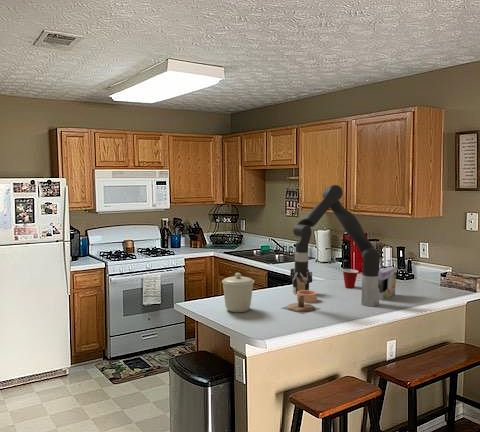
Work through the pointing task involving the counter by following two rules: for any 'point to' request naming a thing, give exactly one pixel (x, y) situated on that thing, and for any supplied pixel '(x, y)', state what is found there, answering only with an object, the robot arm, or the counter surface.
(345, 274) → the plastic cup
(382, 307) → the counter surface
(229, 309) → the canister
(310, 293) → the terracotta bowl
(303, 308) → the walnut lid
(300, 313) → the rubber mat
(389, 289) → the cake pan box
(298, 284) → the coffee box
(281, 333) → the counter surface
